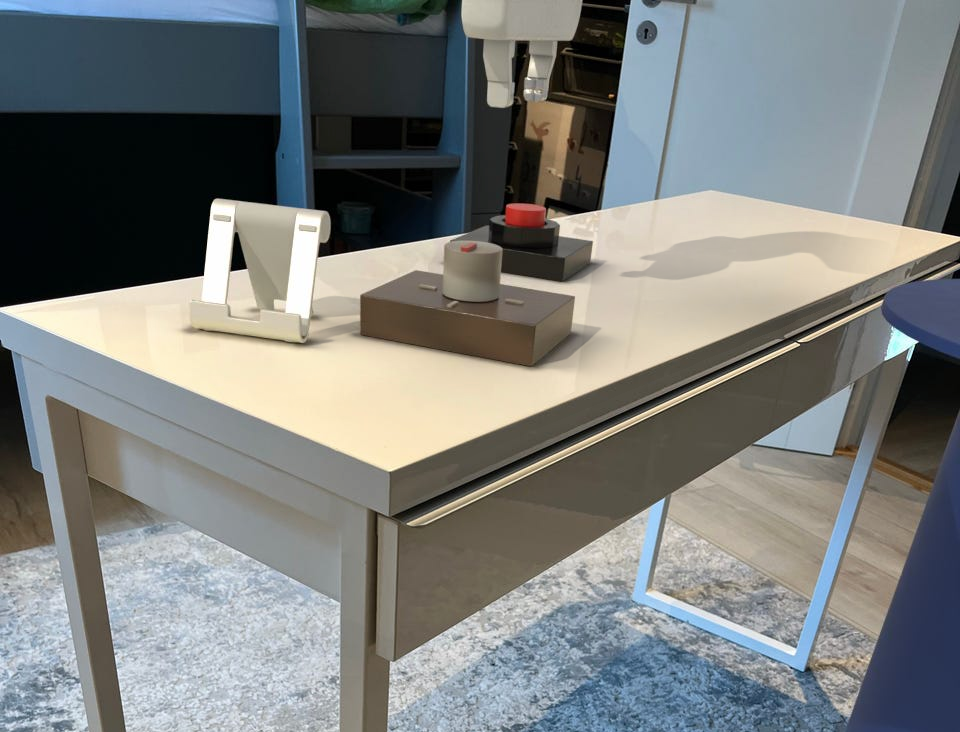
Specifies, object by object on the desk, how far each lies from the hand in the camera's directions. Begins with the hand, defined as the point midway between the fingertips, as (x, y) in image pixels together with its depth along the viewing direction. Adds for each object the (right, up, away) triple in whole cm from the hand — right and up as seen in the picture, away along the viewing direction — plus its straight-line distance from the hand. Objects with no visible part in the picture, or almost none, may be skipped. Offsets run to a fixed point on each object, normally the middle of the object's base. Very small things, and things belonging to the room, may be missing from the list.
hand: (518, 104), depth 81 cm
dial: (-4, -19, -7) cm, 20 cm away
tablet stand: (-20, -21, -7) cm, 30 cm away
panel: (-4, -21, -5) cm, 22 cm away
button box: (+1, -7, +17) cm, 19 cm away
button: (+1, -4, +15) cm, 16 cm away
